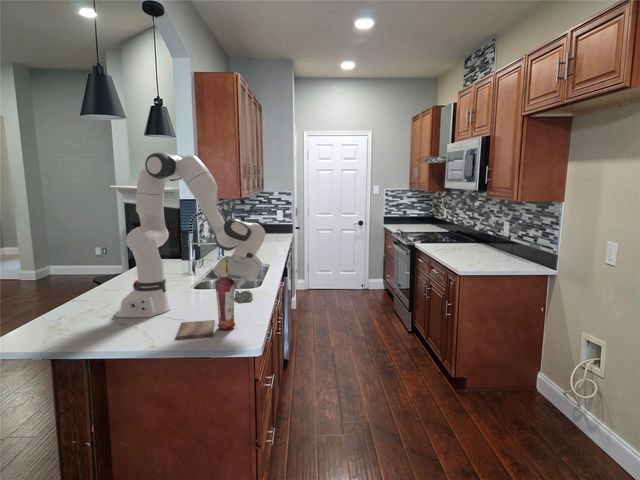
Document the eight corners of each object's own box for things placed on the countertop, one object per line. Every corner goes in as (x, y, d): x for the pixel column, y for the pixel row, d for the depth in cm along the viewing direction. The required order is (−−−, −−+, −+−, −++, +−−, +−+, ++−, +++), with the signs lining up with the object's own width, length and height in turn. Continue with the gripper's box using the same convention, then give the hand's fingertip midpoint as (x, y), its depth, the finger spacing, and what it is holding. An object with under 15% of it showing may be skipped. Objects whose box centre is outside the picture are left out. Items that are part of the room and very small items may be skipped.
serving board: (176, 339, 145) (175, 336, 145) (181, 325, 159) (181, 322, 159) (212, 336, 147) (212, 333, 147) (214, 322, 162) (214, 320, 162)
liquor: (231, 332, 152) (228, 261, 148) (213, 330, 153) (210, 260, 149) (238, 325, 159) (236, 257, 155) (222, 324, 160) (219, 256, 156)
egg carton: (233, 297, 199) (233, 289, 198) (248, 295, 202) (248, 287, 201) (238, 303, 189) (238, 294, 189) (254, 301, 192) (253, 293, 192)
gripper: (219, 251, 165) (203, 279, 158) (258, 255, 155) (243, 285, 148) (227, 259, 169) (212, 287, 162) (265, 264, 159) (251, 293, 152)
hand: (227, 286), depth 155 cm, fingers open, 8 cm apart
